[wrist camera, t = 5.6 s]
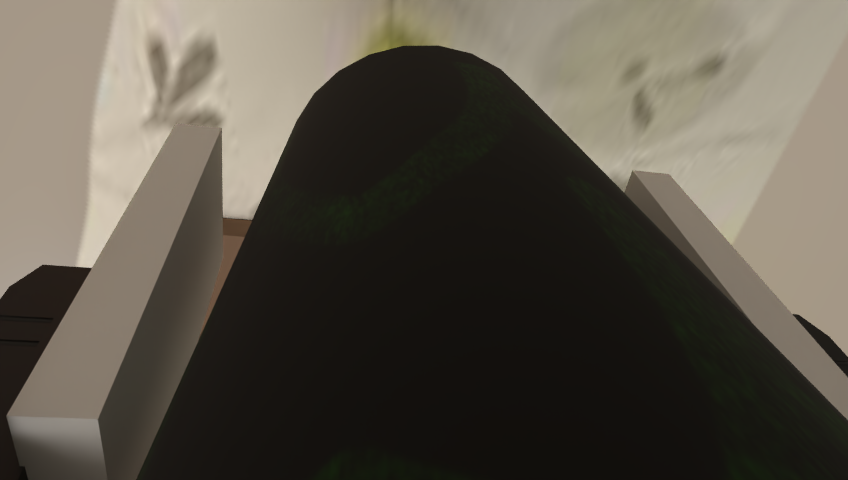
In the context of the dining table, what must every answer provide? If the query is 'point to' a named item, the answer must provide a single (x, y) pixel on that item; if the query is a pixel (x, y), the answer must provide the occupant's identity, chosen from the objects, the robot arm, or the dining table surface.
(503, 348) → the cup
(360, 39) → the dining table surface
